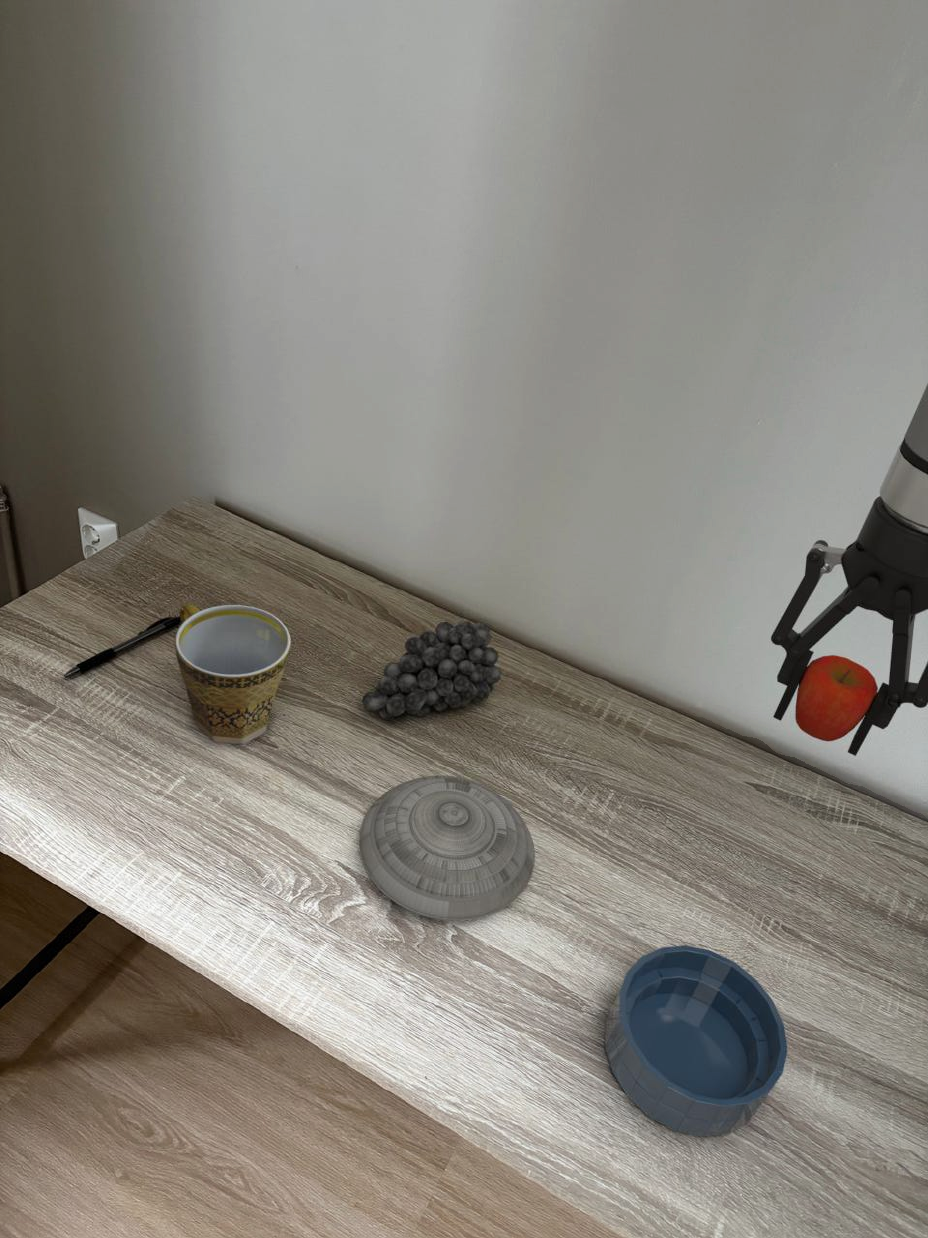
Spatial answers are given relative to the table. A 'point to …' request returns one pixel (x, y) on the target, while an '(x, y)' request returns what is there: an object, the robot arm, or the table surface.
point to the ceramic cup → (231, 668)
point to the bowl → (695, 1040)
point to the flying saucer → (447, 848)
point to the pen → (124, 646)
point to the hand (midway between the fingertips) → (817, 728)
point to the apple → (833, 697)
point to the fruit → (438, 672)
